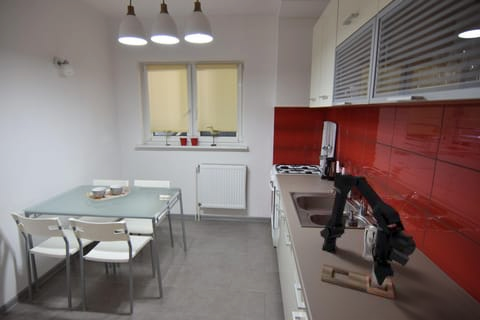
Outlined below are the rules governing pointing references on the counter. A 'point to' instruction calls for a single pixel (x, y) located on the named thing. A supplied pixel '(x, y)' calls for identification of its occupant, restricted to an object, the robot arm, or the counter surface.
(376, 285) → the square peg
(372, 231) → the beer glass
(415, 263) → the counter surface
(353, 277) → the brown flat frame piece
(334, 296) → the counter surface
